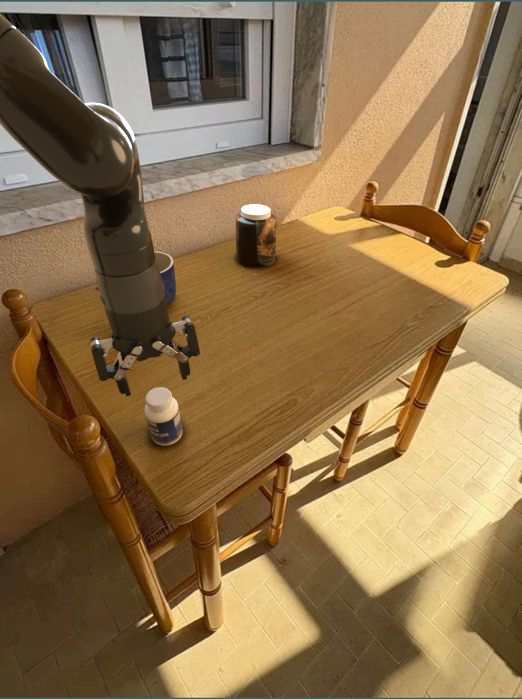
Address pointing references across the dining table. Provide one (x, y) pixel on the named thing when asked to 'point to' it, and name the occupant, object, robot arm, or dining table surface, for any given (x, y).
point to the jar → (255, 236)
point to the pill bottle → (163, 416)
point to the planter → (167, 275)
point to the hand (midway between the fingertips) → (156, 384)
